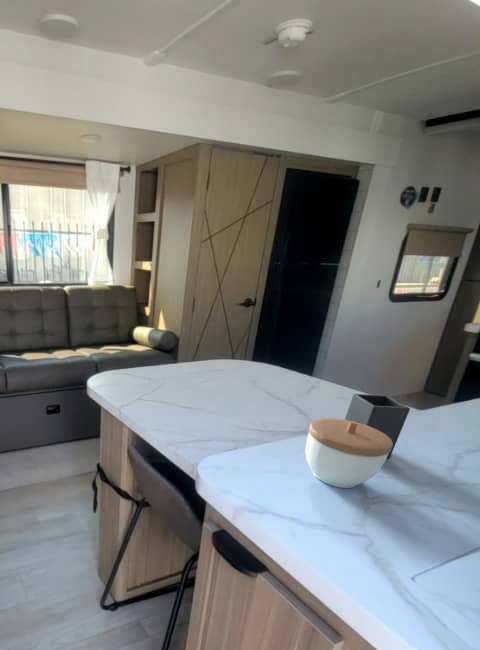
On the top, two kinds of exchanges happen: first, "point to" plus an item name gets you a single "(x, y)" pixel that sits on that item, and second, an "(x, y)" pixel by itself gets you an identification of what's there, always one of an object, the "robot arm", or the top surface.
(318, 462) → the lidded bowl
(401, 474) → the top surface
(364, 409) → the dark grey brick
